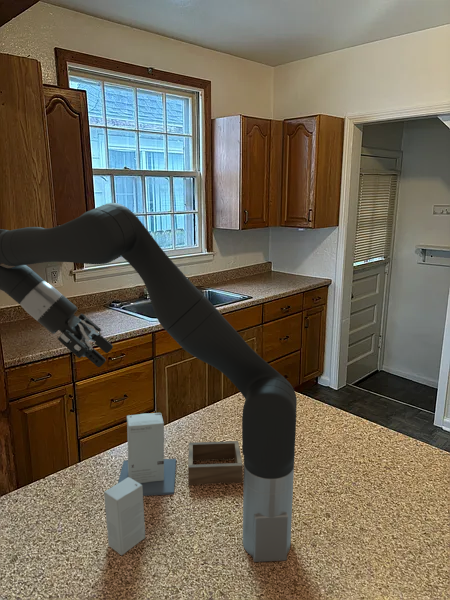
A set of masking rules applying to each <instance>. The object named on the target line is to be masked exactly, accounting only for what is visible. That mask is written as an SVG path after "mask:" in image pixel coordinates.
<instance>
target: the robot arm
mask: <svg viewBox="0 0 450 600" xmlns="http://www.w3.org/2000/svg"><path fill="white" fill-rule="evenodd" d="M120 257H121V258H123V259H124V260H125V261H126V262H127V263H128V264H129V265H130V266H131V267H132V268H133V269H134V271H135V272H137V274H138V275H139V276H140V278H141V280H142V282H143V284H144V286H145V288H146V290H147V294H148V297H149V300H150V304H151V306H152V309H153V312H154V314H155V317H156V319H157V321H158V323H159V324H160V325H161V327H162V328H163V330H165V331H166V332H167V334H168V335H170V337H171V338H172V339H173V340H174V341H175V342H176V343H177V344H178V345H179V346H180V347H181V348H182V349H183V350H184V351H186V353H189V354H190V355H191V356H193V357H194V358H196V359H198V360H200V361H202V362H203V363H205V364H208V365H209V366H211V367H214V368H215V369H216V370H218V371H219V372H221V374H223V375H224V376H226V378H228V380H229V381H230V382H231V383H232V384H233V385H234V386H235V387H236V389H238V391H239V392H240V393H241V394H242V396H243V398H244V404H243V407H242V412H241V413H242V414H241V417H242V418H241V419H242V420H241V424H242V425H241V440H242V442H241V443H242V446H241V448H242V455H243V482H242V483H243V485H242V486H243V490H242V491H243V494H242V501H243V502H242V546H243V548H244V550H245V551H246V552H247V553H248V555H250V557H252V560H253V561H252V562H254V563H257V562H258V563H259V562H277V561H279V562H280V561H287V558H288V553H289V551H290V550H291V543H292V542H291V540H292V537H291V536H292V518H293V515H292V514H293V499H294V498H293V493H294V476H295V475H294V472H295V469H294V468H295V457H296V456H295V455H296V454H295V453H296V452H295V447H296V429H297V403H298V402H297V401H298V400H297V395H296V390H295V389H294V387H293V386H292V384H291V383H290V381H288V380H287V378H286V377H284V375H282V374H281V373H280V372H279V371H277V370H276V369H275V368H274V367H273V366H272V365H270V363H268V362H267V361H266V360H264V358H262V357H261V356H260V355H259V354H258V353H257V352H256V351H255V350H254V349H253V348H252V347H251V346H250V345H249V344H248V343H247V342H246V340H244V338H243V337H242V336H241V335H240V333H238V331H237V330H236V329H235V328H234V326H232V325H231V324H230V322H229V321H228V320H227V319H226V318H225V317H224V316H223V315H222V313H221V312H220V311H219V310H218V309H217V308H216V307H215V305H214V304H213V303H212V302H211V301H210V300H209V299H208V298H207V297H206V296H204V293H202V291H200V290H199V289H198V288H197V287H196V286H195V285H194V283H192V282H191V280H190V279H189V278H188V277H187V276H186V275H185V274H184V272H182V270H181V269H180V268H179V266H177V265H176V264H175V263H174V262H173V261H172V260H171V258H170V257H169V256H168V254H166V252H165V251H164V250H163V248H162V246H160V245H159V244H158V243H157V241H156V240H155V238H154V237H153V236H152V234H151V233H150V232H149V230H148V229H147V228H146V227H145V225H144V224H143V223H142V222H141V220H140V219H139V218H138V216H137V215H136V214H135V213H134V212H133V211H132V210H131V209H130V208H129V207H127V206H125V205H123V204H120V203H118V202H110V203H109V202H108V203H106V204H102V205H100V206H97V207H96V208H93V209H90V210H88V211H85V212H83V213H82V214H81V215H80V216H79V217H78V216H77V217H76V218H74V219H72V220H70V221H68V222H65V223H63V224H60V225H58V226H54V227H48V228H47V227H46V228H44V227H41V226H28V227H22V228H17V229H16V228H14V229H11V230H9V229H1V228H0V290H1V291H3V292H4V293H6V295H8V296H9V297H10V298H11V299H12V300H14V301H15V302H16V303H17V304H18V305H19V306H21V308H22V309H23V310H24V311H25V312H26V313H27V314H28V315H29V316H31V317H32V318H33V319H34V320H36V321H37V322H38V323H39V324H40V325H41V326H43V328H45V329H46V330H47V331H48V332H50V334H52V335H53V334H56V333H58V331H59V332H60V333H61V334H60V336H58V337H57V340H58V341H59V343H61V344H62V345H64V347H66V348H67V350H69V351H70V353H72V354H74V355H75V356H76V357H77V358H78V359H81V358H82V357H83V358H87V359H88V360H90V362H91V363H92V364H94V365H95V366H96V367H97V368H101V367H102V366H103V365H104V364H105V363H106V361H107V359H106V358H105V357H104V356H103V355H102V354H101V353H100V352H99V351H97V350H96V348H93V346H92V345H91V343H90V341H91V342H93V343H94V344H95V345H96V346H97V347H98V348H99V349H101V350H102V352H104V353H106V354H108V353H109V352H110V351H111V350H112V349H113V348H114V345H113V344H112V343H111V342H110V341H108V339H106V338H105V337H104V336H103V335H102V328H101V327H99V326H98V325H97V324H95V323H94V322H93V321H92V320H90V318H88V317H87V316H86V315H85V314H83V313H80V314H78V316H76V315H75V313H76V312H77V311H78V307H77V306H76V304H74V303H72V301H70V300H69V299H68V297H66V296H65V295H64V294H62V293H61V292H60V291H59V290H58V289H57V288H55V287H54V286H53V285H52V284H50V283H48V282H47V281H46V280H45V279H43V278H42V277H41V276H40V275H39V274H38V273H37V272H36V271H34V270H33V269H32V268H31V267H29V266H28V265H34V264H43V263H52V262H53V263H54V262H55V263H75V264H85V265H105V264H109V263H111V262H113V261H115V260H117V259H119V258H120ZM2 264H3V265H6V266H9V267H4V266H3V265H2Z"/></svg>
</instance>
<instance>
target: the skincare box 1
mask: <svg viewBox="0 0 450 600" xmlns="http://www.w3.org/2000/svg"><path fill="white" fill-rule="evenodd" d="M103 494H104V495H103V496H104V498H103V499H104V508H105V519H106V520H105V522H106V532H107V543H108V546H109V547H110V548H111V549H112V550H113V551H114V552H116V553H118V554H119V555H120V556H124V554H125V553H127V552H128V551H130V550H131V549H132V548H133V547H135V546H136V545H137V544H139V543H140V542H141V541H143V540H144V539H146V524H145V511H144V510H145V505H144V496H143V488H142V485H141V484H140V483H138V482H136V481H135V480H133V479H131V478H129V477H128V478H126V479H124V480H123V481H121V482H120V483H118V482H117V483H116V484H114V485H113V486H111V487H110V488H108V489H107V490H104V492H103Z"/></svg>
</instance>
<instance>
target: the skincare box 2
mask: <svg viewBox="0 0 450 600" xmlns="http://www.w3.org/2000/svg"><path fill="white" fill-rule="evenodd" d="M126 427H127V428H126V431H127V432H126V433H127V434H126V435H127V436H126V437H127V460H128V475H129V478H131V479H133V480H135V481H136V482H138V483H140V484H141V483H147V482H154V481H163V480H164V459H165V423H164V419H163V416H162V413H161V412H154V413H153V412H152V413H149V412H148V413H140V414H131V415H130V414H128V415H126Z"/></svg>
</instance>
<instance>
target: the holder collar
mask: <svg viewBox="0 0 450 600" xmlns="http://www.w3.org/2000/svg"><path fill="white" fill-rule="evenodd" d="M187 457H188V461H187V463H188V465H187V466H188V468H187V471H188V473H187V474H188V475H187V476H188V485H193V486H194V485H215V484H217V485H218V484H237V483H238V484H241V483H243V470H244V464H243V460H242V454H241V449H240V443H239V440H227V441H224V440H223V441H198V442H197V441H195V442H193V441H192V442H188V456H187ZM219 460H220V461H222V460H234V462H233V463H232V462H229V463H208V464H207V463H205V464H204V463H203V464H194V462H195V461H219Z"/></svg>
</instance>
